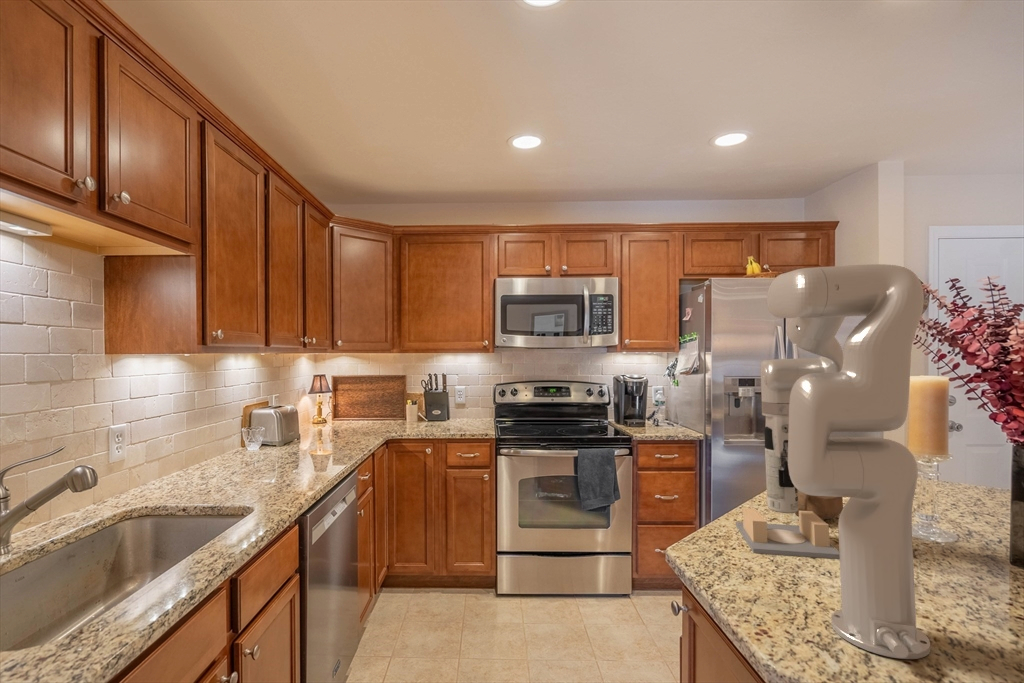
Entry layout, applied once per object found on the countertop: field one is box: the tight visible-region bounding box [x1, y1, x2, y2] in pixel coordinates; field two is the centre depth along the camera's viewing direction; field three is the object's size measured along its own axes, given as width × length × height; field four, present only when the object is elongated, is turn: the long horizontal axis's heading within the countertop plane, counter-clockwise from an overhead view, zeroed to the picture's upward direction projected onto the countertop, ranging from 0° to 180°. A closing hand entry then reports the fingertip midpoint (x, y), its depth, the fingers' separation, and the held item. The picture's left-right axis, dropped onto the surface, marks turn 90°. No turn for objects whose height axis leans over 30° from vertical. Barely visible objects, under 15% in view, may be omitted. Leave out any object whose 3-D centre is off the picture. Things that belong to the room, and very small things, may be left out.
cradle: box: [735, 507, 840, 560], centre depth 116 cm, size 18×18×6 cm
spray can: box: [764, 426, 798, 515], centre depth 117 cm, size 7×7×20 cm
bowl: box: [794, 490, 844, 521], centre depth 131 cm, size 18×14×10 cm
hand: (781, 482), depth 116 cm, fingers closed on spray can, 6 cm apart
